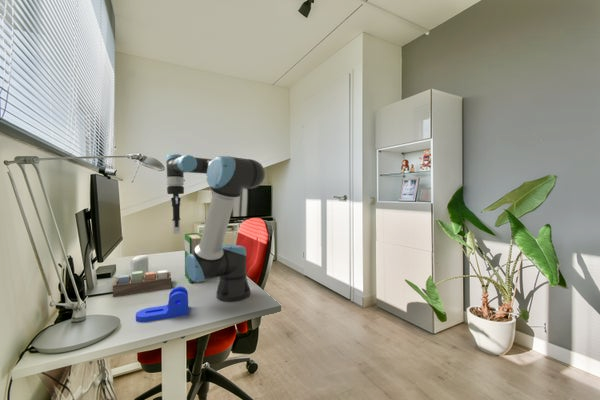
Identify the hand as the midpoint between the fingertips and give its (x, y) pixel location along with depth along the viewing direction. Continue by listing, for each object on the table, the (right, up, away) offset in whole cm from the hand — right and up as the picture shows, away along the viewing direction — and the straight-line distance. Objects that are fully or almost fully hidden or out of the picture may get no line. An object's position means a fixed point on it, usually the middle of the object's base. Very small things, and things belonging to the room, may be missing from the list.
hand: (176, 233), depth 132 cm
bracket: (+8, -28, -29) cm, 41 cm away
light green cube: (-19, -23, -1) cm, 30 cm away
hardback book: (+2, -27, +17) cm, 32 cm away
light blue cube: (-24, -24, -3) cm, 34 cm away
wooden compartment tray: (-16, -27, 0) cm, 32 cm away
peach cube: (-14, -24, +2) cm, 28 cm away
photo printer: (-29, -27, +18) cm, 43 cm away
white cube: (-9, -24, +4) cm, 26 cm away
